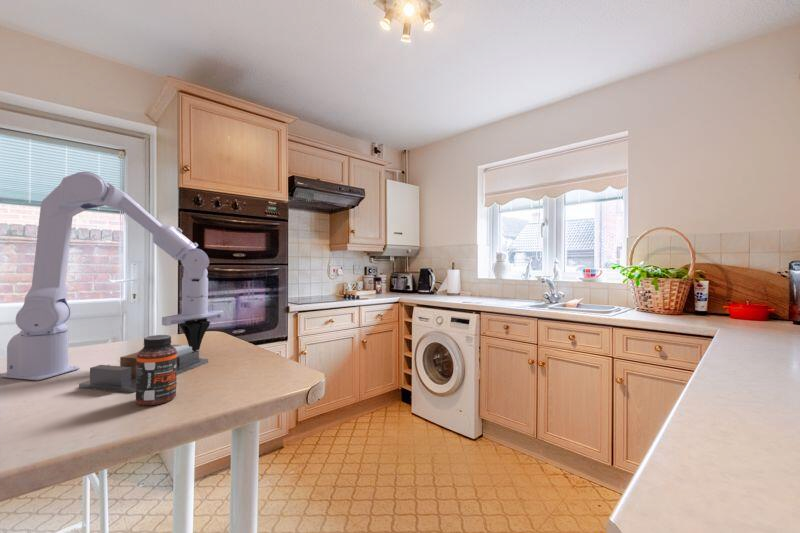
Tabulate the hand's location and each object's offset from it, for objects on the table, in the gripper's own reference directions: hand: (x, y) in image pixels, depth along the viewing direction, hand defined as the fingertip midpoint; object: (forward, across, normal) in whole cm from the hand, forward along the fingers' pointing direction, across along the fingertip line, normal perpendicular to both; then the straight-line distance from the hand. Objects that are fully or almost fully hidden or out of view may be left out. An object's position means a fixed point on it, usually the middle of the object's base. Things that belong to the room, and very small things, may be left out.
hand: (194, 349), depth 88 cm
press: (+2, +12, +4) cm, 13 cm away
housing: (+1, +15, +5) cm, 16 cm away
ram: (+1, +6, +2) cm, 6 cm away
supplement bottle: (+2, +19, +21) cm, 28 cm away
